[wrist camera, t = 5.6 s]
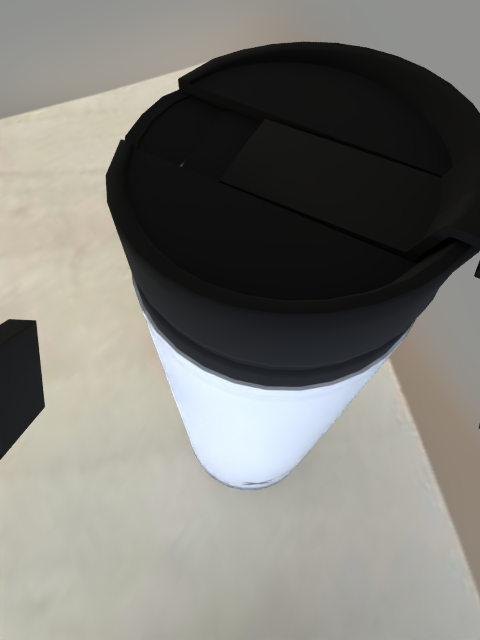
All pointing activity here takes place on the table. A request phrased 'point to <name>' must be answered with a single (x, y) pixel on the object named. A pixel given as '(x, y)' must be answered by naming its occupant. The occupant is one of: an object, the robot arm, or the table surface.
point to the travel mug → (291, 236)
